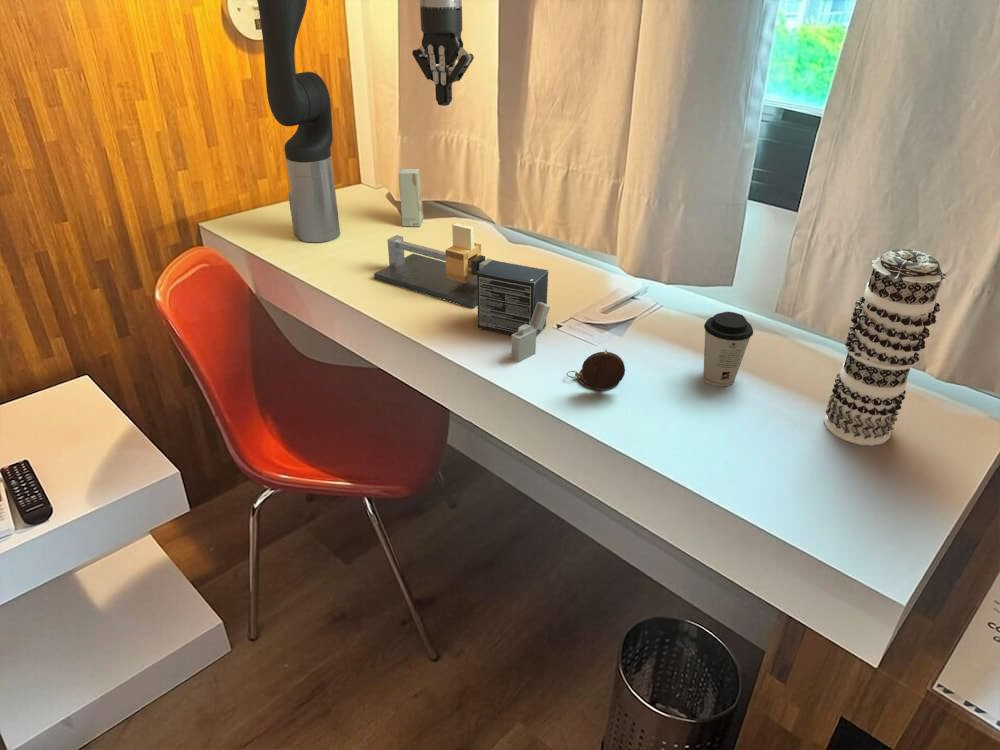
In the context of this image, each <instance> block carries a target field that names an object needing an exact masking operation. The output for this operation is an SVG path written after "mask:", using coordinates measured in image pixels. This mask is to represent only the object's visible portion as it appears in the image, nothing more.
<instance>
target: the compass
mask: <svg viewBox="0 0 1000 750" xmlns="http://www.w3.org/2000/svg"><path fill="white" fill-rule="evenodd" d="M569 373H574V376H570V375H569ZM625 373H626V368H625V362H624V360H623V359H622V358H621V357H620V356H619V355H618V354H617V353H613V352H610V351H608V350H607V349H606V348H605V349H604V351H598V352H596V353H593V354H591V355H589V356H588V357H587V358H586V359H584V361H583V362H582V367H581V369H580V370H579V372H577V371H576V370H569V371H567V372H566V376H567V377H569V378H572V379H575V378H577V377H578V380H579V382H580V383H581V384H583V385H584V386H585V387H588V388H589V389H594V390H598V391H599V390H600V391H601V390H610V389H612V388H614V387H617V386H618V384H620V382H621V381H622V380H623V379H624V377H625Z"/></svg>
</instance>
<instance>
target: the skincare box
mask: <svg viewBox="0 0 1000 750" xmlns="http://www.w3.org/2000/svg"><path fill="white" fill-rule="evenodd" d="M398 183H399V196H400V199H399V200H400V210H401V211H400V212H401V213H400V215H401V226H402V227H421V225H422V223H423V221H424V205H423V197H422V198H421V183H422V178H421V179H420V169H401V168H400V170H399V171H398Z"/></svg>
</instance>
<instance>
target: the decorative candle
mask: <svg viewBox="0 0 1000 750" xmlns="http://www.w3.org/2000/svg"><path fill="white" fill-rule="evenodd" d="M871 266H872V267H873V269H872V270H871V271H872V272H871V275H870V279H869V281H868V282H867V283H866V287H865V290H864V293H863V295H862V296H861V297H859V299H858V300H856V301H855V306H854V308H853V309H854V310H853V312H852V316H851V319H850V321H851V322H852V324H851V325H850V326H849V331H848V333H847V337H846V341H845V343H844V346H845V349H846V351H847V355H846V359H845V361H844V362H843V364H842V367H841V370H840V372H838V373H837V374H836V378H835V379H834V384H833V388H832V390H831V392H832V393H831V394H830V396H829V400H828V404H827V406H826V409H825V416H824V420H823V423H824V424H825V427H826V429H827V430H828V431H830V432H831V433H832V434H833V435H834V436H836V437H838V438H840V439H841V440H844V441H845V442H847V443H852V444H856V445H858V446H859V445H861V446H872V447H874V446H879V445H883V444H885V443H886V442H887V441H888V440H889V439H890V437H891V431H894V425H895V424H896V423H895V422H897V421H898V417H897V416H898V415H899V412H898V411H900V410H901V409H902V403H903V401H904V400H905V399H906V387H907V383H908V376H909V374H910V371H911V368H913V367H914V366H916V365H917V363H918V362H919V361H920V354H919V353H918V352H920V350H923V349H925V348H926V341H925V339H926V338H929V337H930V335H931V334H930V330H929V328H928V327H930V326H931V325H934V324H936V323H937V320H936V318H937V315H936V314H937V313H938V312H940V311H941V308H940V306H941V305H940V303H938V302H937V297H938V293H939V290H940V287H941V284H942V280H945V279H946V278H947V277H946V276H947V273H946V272H945V271H944V270H943V268H941V266H940V263H939V261H938V260H937V259H936V258H935V257H934V256H933V255H930V254H928V253H926V252H923V251H919V250H916V249H915V250H913V249H905V248H896V249H891V250H889V251H888V252H885V253H883V254H882V255H881V256H878V257H876V258H874V259H872V261H871ZM862 304H863V305H862Z"/></svg>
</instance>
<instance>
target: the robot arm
mask: <svg viewBox="0 0 1000 750" xmlns="http://www.w3.org/2000/svg"><path fill="white" fill-rule="evenodd" d="M256 2H257V7H258V14H259V20H260V28H261V36H262V44H263V59H264V70H265V72H264V73H265V85H266V96H267V100H268V105H269V109H270V111H271V114H272V116H273V117H274V119H275V120H276V121H277V122H278V123H279V124H280V125H281V126H284V127H295V126H297V129H296V131H295V132H294V134H293V135H292V136H291V137H290V138H289V139H288V140H287V141H286V142H285V144H284V155H285V160H286V161H285V162H286V168H287V173H288V182H289V187H290V191H288V193H287V195H288V196H287V197H288V203H289V208H290V210H289V211H290V216H291V222H292V229H293V235H294V236H297V238H298V240H299V241H303V242H306V243H323V242H329V241H332V240H335V239H337V238H338V237H339V236H340V235H341V227H340V221H339V211H338V203H337V193H336V185H335V177H334V175H335V174H334V167H333V161H332V160H333V159H332V150H331V149H332V148H331V147H332V145H333V137H334V134H333V121H332V118H333V116H332V104H331V96H330V93H329V89H328V86H327V84H326V83H325V81H324V79H323V78H322V77H321V76H320V75H319V74H317V73H316V72H312V71H303V72H297V71H296V59H295V53H296V52H295V50H296V48H295V46H296V42H297V38H298V35H299V32H300V29H301V26H302V22H303V19H304V16H305V11H306V8H307V3H308V0H256ZM462 2H463V0H419V14H420V29H421V30H420V31H421V33H423V35H422V39H421V45H420V46H419V47H418V48H417V49H413V50H412V56H413V58H414V60H415V61H416V63H417V65H418V66H419V69H420V70H421V72H422V73H423V75H424V78H425V79H427V80H428V81H429V80H430V81H432V82H433V83H434V86H435V88H434V89H435V101H436V102H437V105H438V106H445V107H446V106H450V104H451V103H452V100H453V84H454V83H456V82H460V81H461V80H462V78H463V77H464V75H465V73H467V70H468V68H469V67H470V65H472V64H471V63H472V62H473V61H474V58H475V57H474V54H473V53H468V51H467V50H466V49H465V48H464V42H463V39H462V32H463V3H462ZM456 61H457V63H456Z"/></svg>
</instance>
